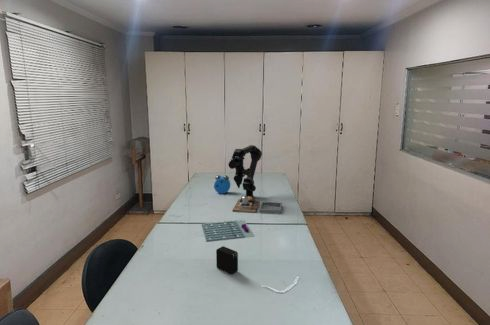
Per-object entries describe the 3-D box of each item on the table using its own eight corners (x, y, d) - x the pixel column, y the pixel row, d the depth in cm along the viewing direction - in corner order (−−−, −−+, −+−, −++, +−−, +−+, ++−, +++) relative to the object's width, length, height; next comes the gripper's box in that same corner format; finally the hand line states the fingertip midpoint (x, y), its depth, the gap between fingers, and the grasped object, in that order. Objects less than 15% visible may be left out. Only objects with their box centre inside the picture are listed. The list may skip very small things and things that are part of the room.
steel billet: (242, 205, 239) (242, 195, 238) (248, 206, 239) (248, 195, 237) (241, 208, 235) (241, 197, 233) (247, 208, 234) (247, 197, 233)
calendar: (201, 224, 211) (200, 221, 211) (243, 220, 218) (243, 216, 217) (206, 242, 186) (206, 238, 185) (254, 237, 192) (254, 233, 192)
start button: (244, 199, 251) (244, 196, 251) (252, 199, 250) (252, 196, 250) (242, 202, 245) (242, 198, 245) (251, 202, 244) (251, 199, 243)
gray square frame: (261, 204, 245) (261, 201, 244) (281, 206, 243) (281, 202, 242) (258, 212, 230) (258, 209, 229) (280, 213, 227) (280, 210, 227)
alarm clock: (230, 192, 276) (230, 174, 273) (229, 194, 270) (229, 176, 267) (215, 191, 277) (214, 174, 274) (214, 193, 271) (213, 176, 268)
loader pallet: (238, 200, 255) (238, 195, 254) (259, 201, 252) (259, 196, 251) (232, 211, 232) (232, 205, 231) (255, 212, 229) (255, 207, 228)
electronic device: (222, 264, 161) (222, 245, 159) (238, 271, 155) (237, 251, 153) (216, 268, 158) (216, 248, 156) (232, 275, 152) (231, 255, 149)
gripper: (248, 169, 235) (248, 190, 238) (251, 163, 253) (251, 182, 256) (233, 168, 236) (233, 189, 240) (237, 163, 254) (237, 182, 258)
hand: (239, 186), depth 248 cm, fingers open, 9 cm apart
